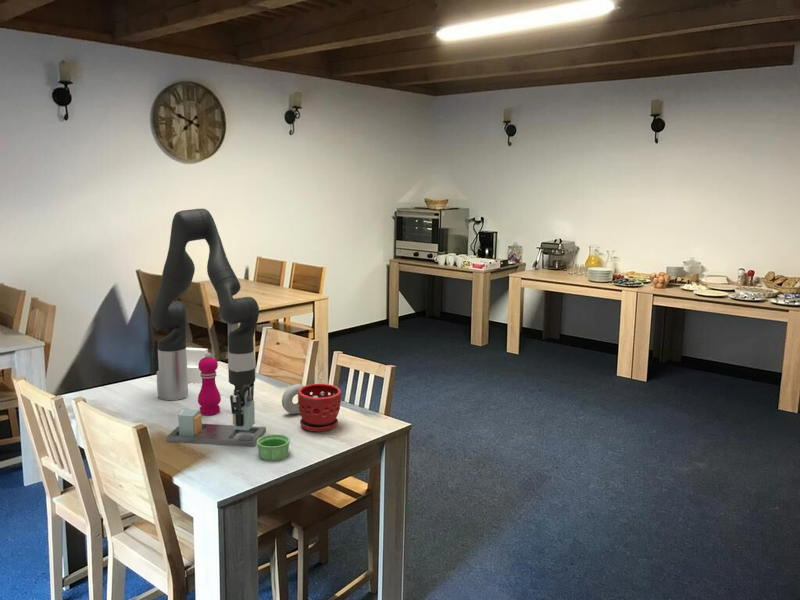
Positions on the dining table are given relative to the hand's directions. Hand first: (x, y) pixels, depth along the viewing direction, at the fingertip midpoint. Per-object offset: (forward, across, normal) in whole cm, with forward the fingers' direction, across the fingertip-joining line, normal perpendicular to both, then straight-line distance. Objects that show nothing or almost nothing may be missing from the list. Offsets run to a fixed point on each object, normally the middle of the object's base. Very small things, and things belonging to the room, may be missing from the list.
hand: (243, 422), depth 191 cm
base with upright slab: (+5, -51, -36) cm, 63 cm away
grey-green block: (+1, 0, 0) cm, 1 cm away
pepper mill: (+5, -19, -18) cm, 27 cm away
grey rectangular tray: (+5, 0, -8) cm, 9 cm away
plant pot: (+5, -12, +20) cm, 24 cm away
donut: (+5, -22, +10) cm, 25 cm away
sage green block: (+5, 0, -16) cm, 17 cm away
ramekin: (+5, +10, +12) cm, 16 cm away
